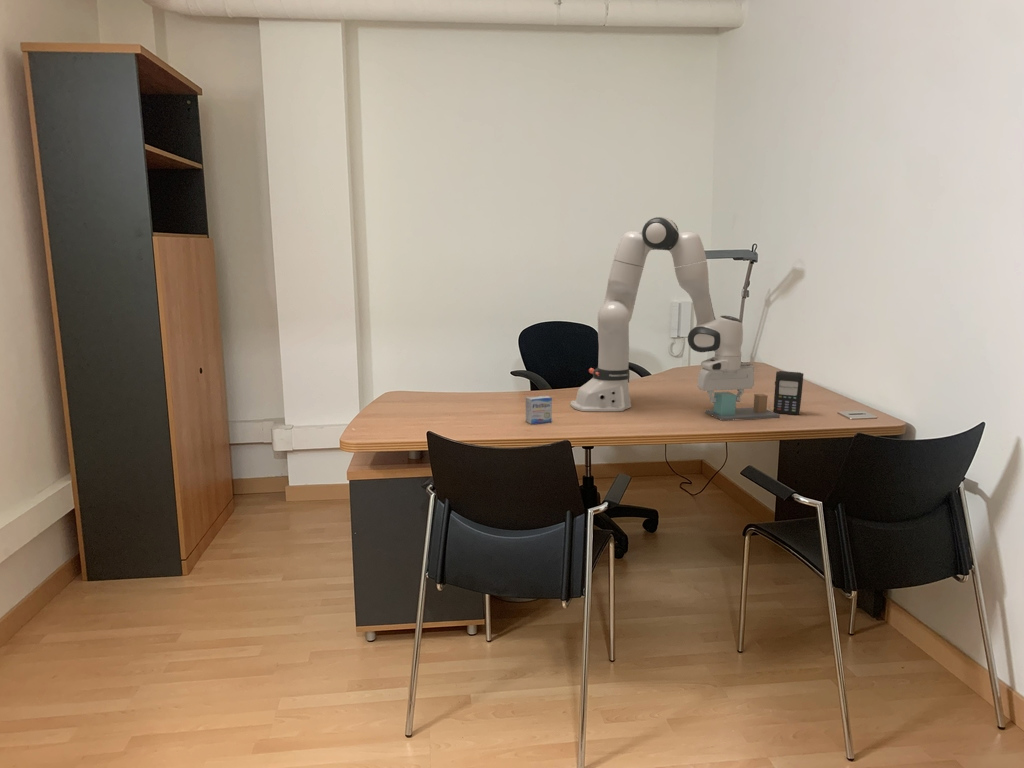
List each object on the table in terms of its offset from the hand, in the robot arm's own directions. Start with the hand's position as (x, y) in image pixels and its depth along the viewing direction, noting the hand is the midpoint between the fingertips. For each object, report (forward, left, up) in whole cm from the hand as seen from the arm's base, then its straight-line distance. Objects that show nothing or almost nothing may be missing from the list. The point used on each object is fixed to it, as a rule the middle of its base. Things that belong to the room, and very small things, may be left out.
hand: (724, 401), depth 252 cm
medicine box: (-66, +6, -5) cm, 66 cm away
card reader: (+24, -1, -5) cm, 25 cm away
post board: (+7, 0, -5) cm, 9 cm away
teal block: (0, 0, -4) cm, 4 cm away
